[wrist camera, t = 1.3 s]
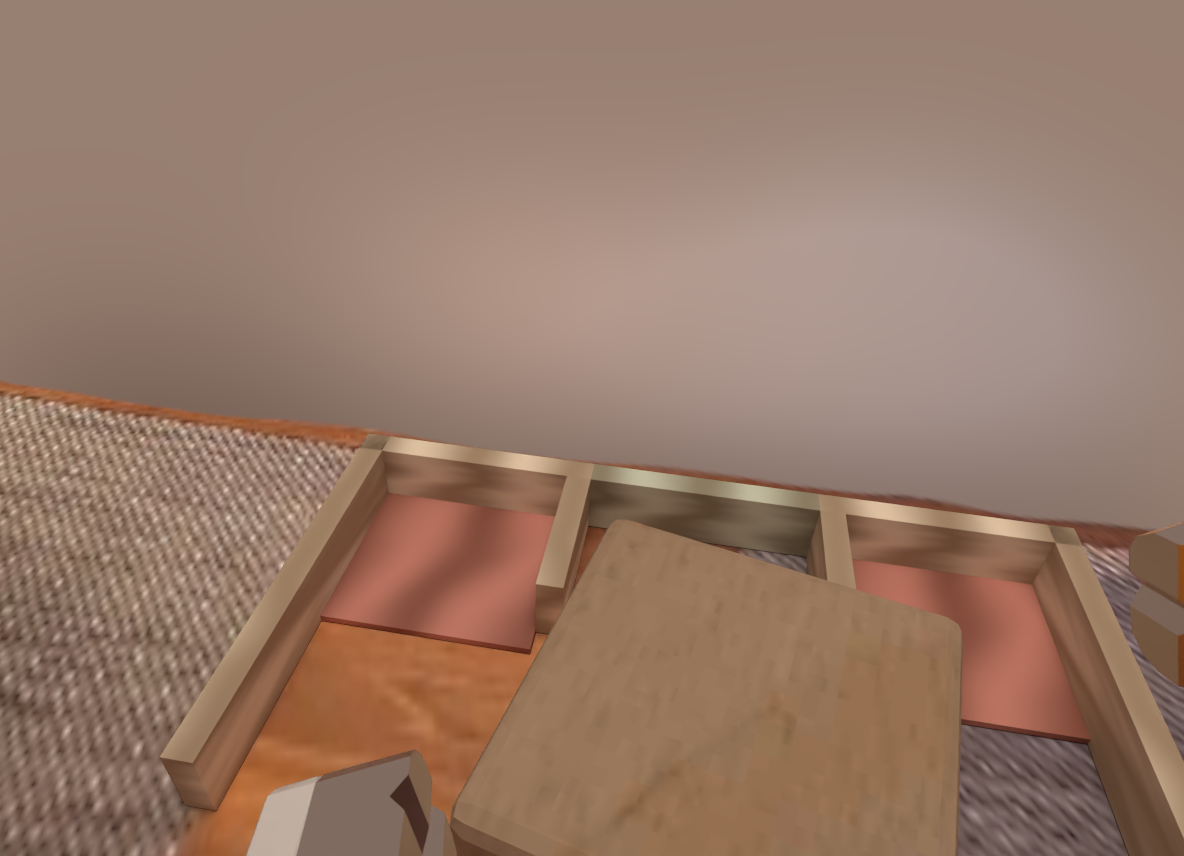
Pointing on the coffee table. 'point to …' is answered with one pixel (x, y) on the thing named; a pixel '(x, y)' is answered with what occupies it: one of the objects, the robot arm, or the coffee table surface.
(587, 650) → the wooden block
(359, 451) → the trap box
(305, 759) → the coffee table surface
